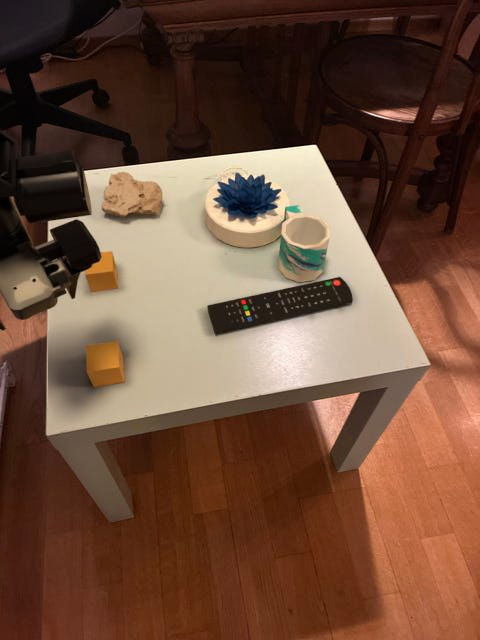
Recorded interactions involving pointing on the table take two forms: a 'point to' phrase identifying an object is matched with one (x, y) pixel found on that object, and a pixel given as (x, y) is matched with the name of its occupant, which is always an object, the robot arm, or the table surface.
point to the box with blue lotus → (245, 209)
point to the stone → (131, 196)
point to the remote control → (279, 304)
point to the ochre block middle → (103, 273)
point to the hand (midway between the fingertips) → (38, 311)
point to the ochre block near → (104, 363)
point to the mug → (302, 245)
